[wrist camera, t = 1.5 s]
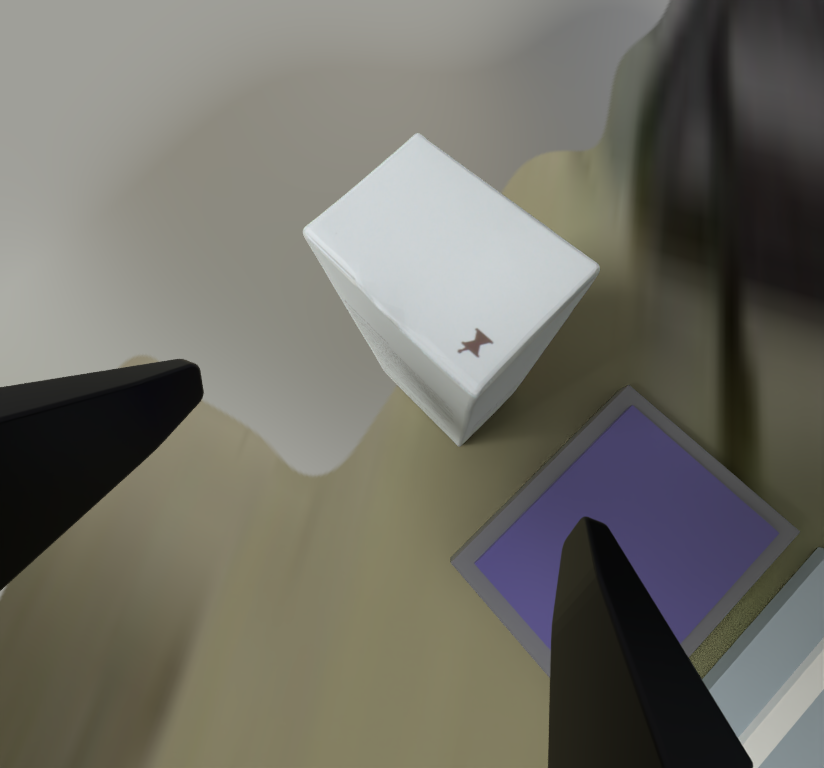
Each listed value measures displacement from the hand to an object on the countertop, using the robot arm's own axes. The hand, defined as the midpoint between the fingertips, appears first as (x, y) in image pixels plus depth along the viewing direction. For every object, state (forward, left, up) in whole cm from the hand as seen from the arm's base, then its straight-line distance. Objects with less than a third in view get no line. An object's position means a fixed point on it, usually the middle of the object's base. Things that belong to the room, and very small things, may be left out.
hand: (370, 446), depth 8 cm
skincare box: (+4, +2, -12) cm, 13 cm away
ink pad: (+4, -9, -11) cm, 15 cm away
